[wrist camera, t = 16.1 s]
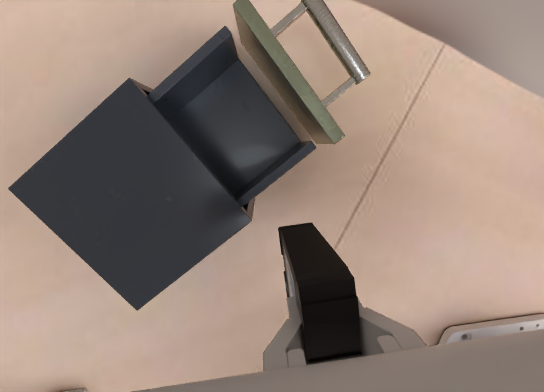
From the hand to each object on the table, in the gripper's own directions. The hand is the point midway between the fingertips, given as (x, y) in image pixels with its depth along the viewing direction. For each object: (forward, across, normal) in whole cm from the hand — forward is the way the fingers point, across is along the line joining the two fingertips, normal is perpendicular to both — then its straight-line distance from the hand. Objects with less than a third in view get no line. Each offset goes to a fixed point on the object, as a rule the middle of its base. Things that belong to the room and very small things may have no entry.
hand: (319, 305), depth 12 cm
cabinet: (+19, +13, -5) cm, 24 cm away
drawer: (+18, +1, -12) cm, 22 cm away
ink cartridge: (+6, 0, 0) cm, 6 cm away
